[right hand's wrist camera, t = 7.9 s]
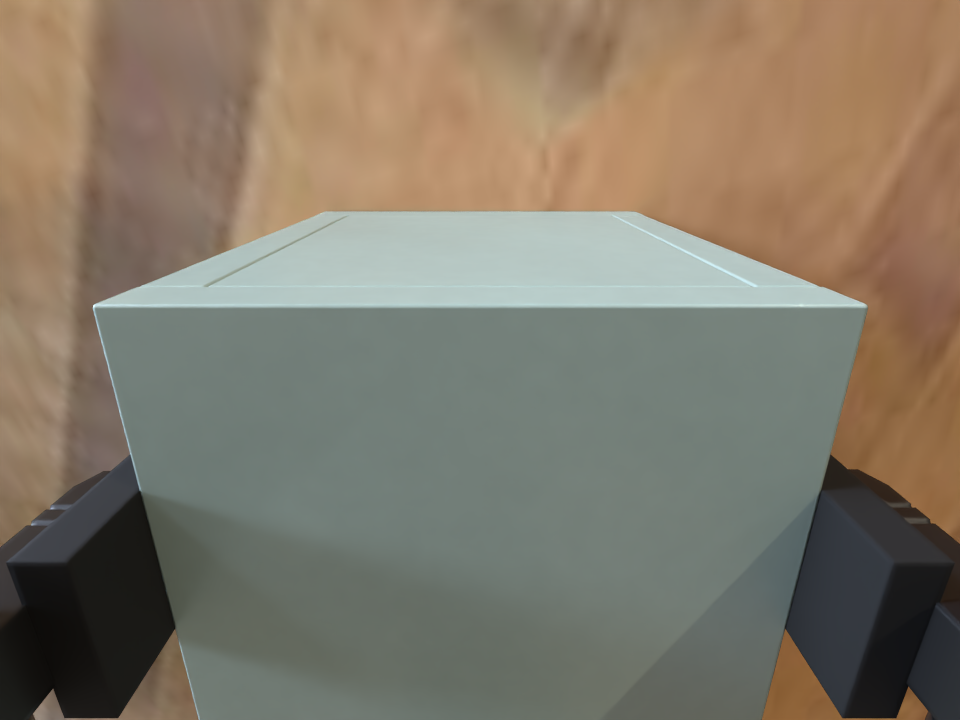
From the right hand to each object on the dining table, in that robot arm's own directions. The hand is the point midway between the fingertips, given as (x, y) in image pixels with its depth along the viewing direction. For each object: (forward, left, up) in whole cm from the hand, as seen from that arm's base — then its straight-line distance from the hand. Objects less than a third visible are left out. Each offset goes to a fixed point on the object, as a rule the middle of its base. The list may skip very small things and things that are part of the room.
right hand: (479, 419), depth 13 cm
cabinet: (+2, -3, -7) cm, 8 cm away
